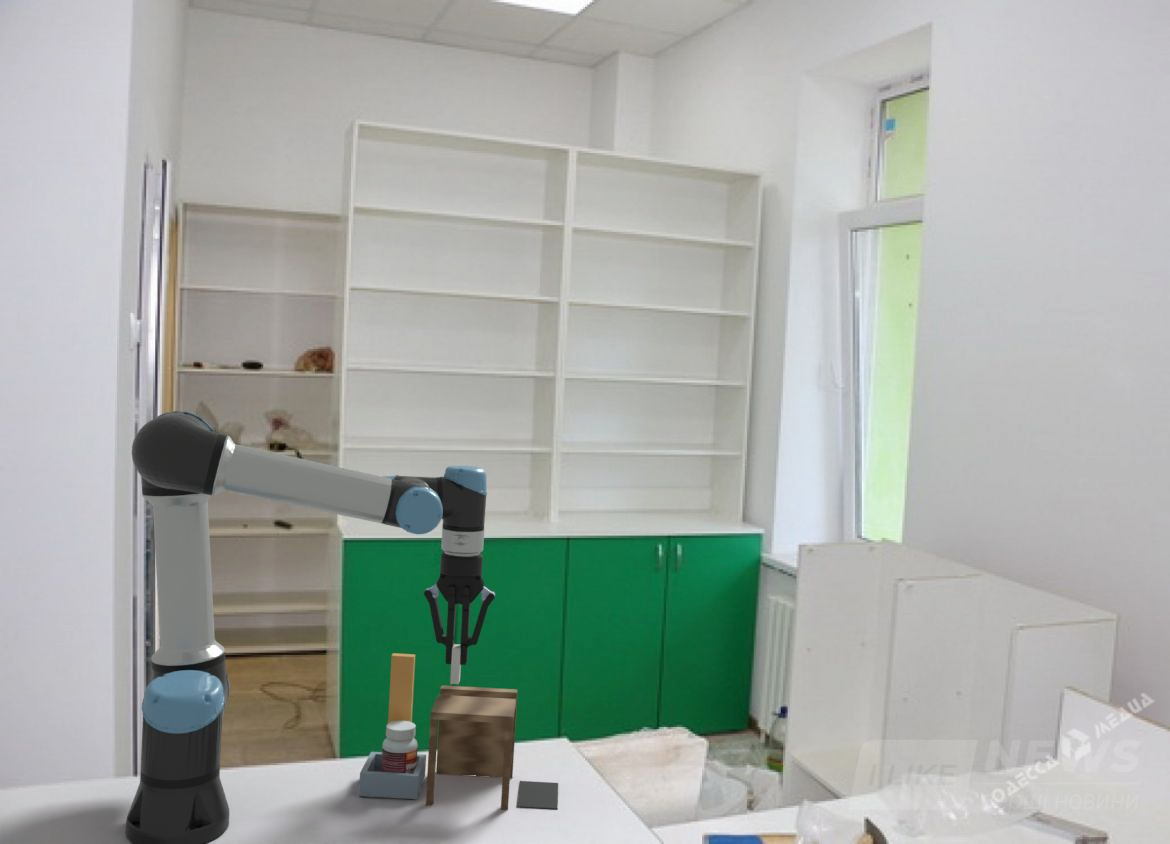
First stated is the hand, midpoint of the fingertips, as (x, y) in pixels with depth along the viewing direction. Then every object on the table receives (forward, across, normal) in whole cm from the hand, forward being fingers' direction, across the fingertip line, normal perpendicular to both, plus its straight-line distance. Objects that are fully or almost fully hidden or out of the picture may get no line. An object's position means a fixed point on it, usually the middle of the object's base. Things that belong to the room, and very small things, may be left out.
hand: (455, 681), depth 186 cm
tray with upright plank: (+18, -10, -4) cm, 21 cm away
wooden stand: (+18, +4, -5) cm, 19 cm away
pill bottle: (+18, -9, -5) cm, 21 cm away
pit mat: (+18, +16, -5) cm, 25 cm away
